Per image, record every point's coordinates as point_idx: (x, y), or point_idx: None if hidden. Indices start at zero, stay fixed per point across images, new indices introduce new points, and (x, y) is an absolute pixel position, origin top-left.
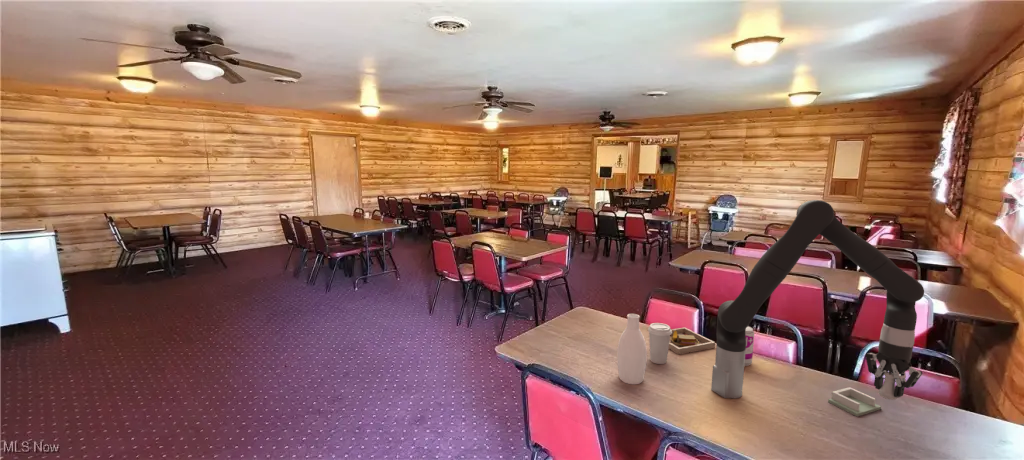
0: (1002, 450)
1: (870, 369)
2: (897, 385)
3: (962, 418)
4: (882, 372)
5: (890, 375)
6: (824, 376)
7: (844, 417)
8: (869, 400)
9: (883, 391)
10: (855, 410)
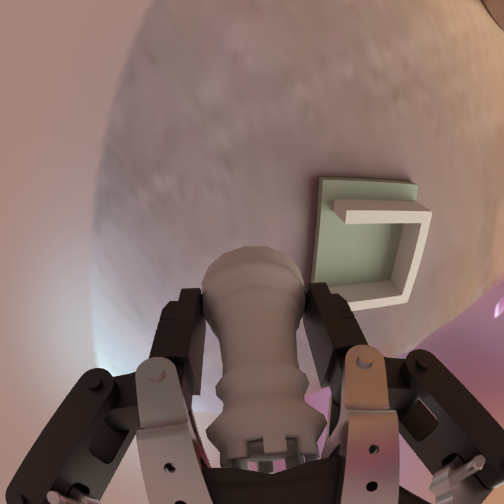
0: (99, 361)
1: (431, 374)
2: (168, 363)
3: (206, 405)
4: (339, 419)
5: (246, 433)
6: (449, 312)
7: (334, 123)
8: (341, 295)
9: (259, 272)
10: (339, 198)
